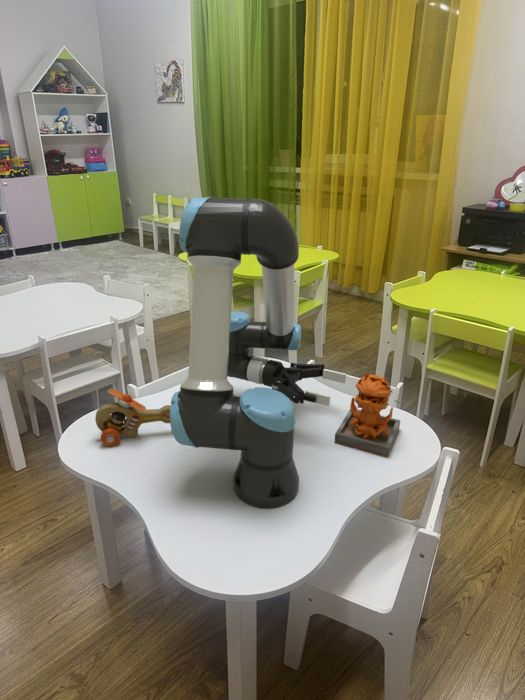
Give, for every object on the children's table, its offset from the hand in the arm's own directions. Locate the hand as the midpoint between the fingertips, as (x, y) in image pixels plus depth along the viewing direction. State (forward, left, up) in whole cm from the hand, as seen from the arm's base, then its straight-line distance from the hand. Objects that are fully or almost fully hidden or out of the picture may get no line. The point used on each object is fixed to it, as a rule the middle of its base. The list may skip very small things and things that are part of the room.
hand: (337, 389), depth 127 cm
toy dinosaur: (0, -9, -11) cm, 15 cm away
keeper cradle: (0, -9, -12) cm, 15 cm away
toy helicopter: (-28, +46, -12) cm, 56 cm away
